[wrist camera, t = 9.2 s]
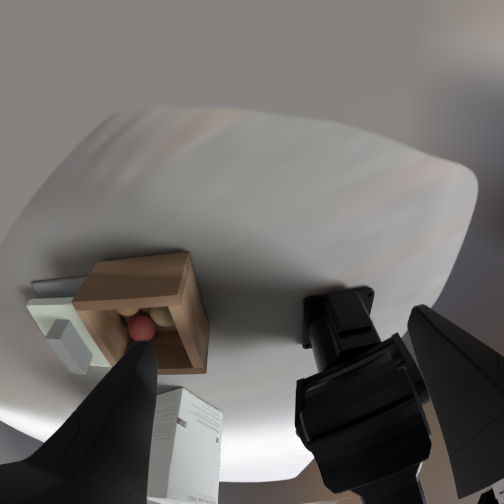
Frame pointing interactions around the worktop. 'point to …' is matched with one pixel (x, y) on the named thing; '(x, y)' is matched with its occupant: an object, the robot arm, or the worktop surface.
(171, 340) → the box
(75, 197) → the worktop surface
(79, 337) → the lid
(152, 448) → the skincare box
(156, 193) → the worktop surface
